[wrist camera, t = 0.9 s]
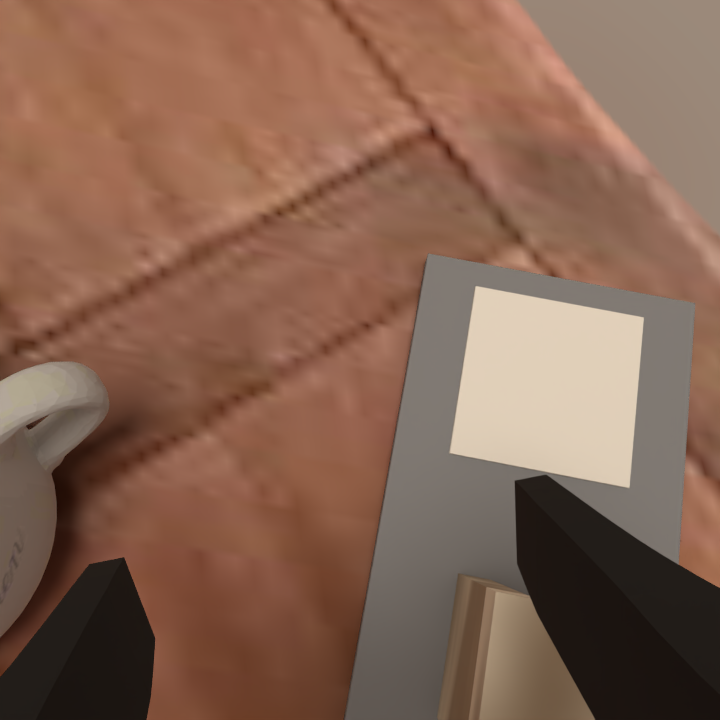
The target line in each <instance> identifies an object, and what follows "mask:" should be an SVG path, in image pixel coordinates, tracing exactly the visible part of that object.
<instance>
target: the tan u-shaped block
mask: <svg viewBox="0 0 720 720" xmlns="http://www.w3.org/2000/svg"><path fill="white" fill-rule="evenodd" d="M437 718H438V720H595V718H594V717H593V715H592V713H591V711H590V709H589V708H588V706H587V704H586V702H585V700H584V698H583V697H582V695H581V693H580V691H579V689H578V688H577V686H576V684H575V682H574V680H573V679H572V677H571V675H570V673H569V671H568V670H567V668H566V666H565V664H564V662H563V661H562V659H561V657H560V655H559V653H558V651H557V650H556V648H555V646H554V644H553V642H552V640H551V639H550V637H549V635H548V633H547V631H546V629H545V628H544V626H543V624H542V622H541V620H540V618H539V616H538V615H537V612H536V610H535V608H534V605H533V603H532V600H531V598H530V596H529V595H526V594H523V593H521V592H519V591H516V590H514V589H511V588H509V587H507V586H504V585H502V584H500V583H497V582H495V581H492V580H489V579H484V578H479V577H474V576H469V575H464V574H459V573H458V578H457V585H456V592H455V598H454V605H453V612H452V619H451V626H450V633H449V640H448V646H447V653H446V660H445V667H444V674H443V681H442V688H441V694H440V701H439V708H438V715H437Z"/></svg>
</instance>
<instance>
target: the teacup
mask: <svg viewBox="0 0 720 720" xmlns="http://www.w3.org/2000/svg"><path fill="white" fill-rule="evenodd" d="M108 410H109V398H108V393H107V390H106V388H105V386H104V385H103V383H102V381H101V380H100V378H99V376H98V375H97V374H96V373H95V372H94V371H93V370H92V369H90V368H89V367H87V366H85V365H83V364H81V363H76V362H49V363H45V364H41V365H36V366H33V367H30V368H27V369H24V370H22V371H19V372H17V373H15V374H13V375H11V376H9V377H7V378H5V379H3V380H2V381H0V637H1V636H2V635H3V634H4V633H5V632H6V631H7V630H8V629H9V628H10V627H11V625H12V624H13V623H14V622H15V621H16V619H17V618H18V617H19V616H20V614H21V613H22V612H23V610H24V609H25V607H26V606H27V604H28V603H29V601H30V599H31V598H32V596H33V594H34V592H35V590H36V589H37V587H38V585H39V583H40V581H41V579H42V577H43V574H44V571H45V569H46V566H47V564H48V561H49V558H50V555H51V551H52V547H53V543H54V537H55V530H56V522H57V502H56V493H55V485H54V482H53V478H52V472H53V470H54V469H55V468H56V467H58V466H59V465H60V464H61V462H62V461H63V459H64V457H65V455H67V454H68V453H69V452H70V451H72V450H73V449H74V448H75V447H76V446H77V445H79V444H80V443H81V442H82V441H83V440H84V439H85V438H86V437H87V436H88V435H90V434H91V433H92V432H93V431H94V430H95V429H96V428H97V427H98V426H99V425H100V424H101V422H102V421H103V420H104V418H105V417H106V415H107V413H108ZM48 415H49V416H48ZM45 416H48V417H46V418H45V419H44V420H43V421H41V422H40V423H39V424H38V425H36V426H35V427H33V428H32V429H28V428H27V427H26V425H28V424H30V423H32V422H34V421H36V420H38V419H41V418H43V417H45Z"/></svg>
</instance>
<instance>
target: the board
mask: <svg viewBox="0 0 720 720" xmlns="http://www.w3.org/2000/svg"><path fill="white" fill-rule="evenodd" d="M694 315H695V303H691V302H686V301H680V300H675V299H670V298H664V297H659V296H654V295H648V294H643V293H637V292H632V291H627V290H621V289H616V288H611V287H605V286H600V285H594V284H589V283H584V282H578V281H573V280H568V279H562V278H557V277H551V276H546V275H541V274H535V273H530V272H525V271H519V270H514V269H508V268H503V267H498V266H492V265H487V264H482V263H476V262H471V261H465V260H460V259H455V258H449V257H444V256H438V255H433V254H428V256H427V259H426V262H425V267H424V273H423V278H422V284H421V290H420V295H419V301H418V306H417V312H416V318H415V323H414V329H413V334H412V340H411V346H410V351H409V357H408V362H407V368H406V374H405V379H404V385H403V390H402V396H401V402H400V407H399V413H398V418H397V424H396V430H395V435H394V441H393V446H392V452H391V458H390V463H389V469H388V474H387V480H386V486H385V491H384V497H383V502H382V508H381V514H380V519H379V525H378V530H377V536H376V542H375V547H374V553H373V558H372V564H371V570H370V575H369V581H368V586H367V592H366V598H365V603H364V609H363V614H362V620H361V626H360V631H359V637H358V642H357V648H356V654H355V659H354V665H353V670H352V676H351V682H350V687H349V693H348V698H347V704H346V710H345V715H344V720H438V718H437V715H438V708H439V701H440V694H441V688H442V681H443V674H444V667H445V660H446V653H447V646H448V640H449V633H450V626H451V619H452V612H453V605H454V598H455V592H456V585H457V578H458V573H459V574H464V575H469V576H474V577H479V578H484V579H489V580H492V581H495V582H497V583H500V584H502V585H504V586H507V587H509V588H511V589H514V590H516V591H519V592H521V593H523V594H526V595H529V593H528V591H527V588H526V586H525V583H524V581H523V578H522V575H521V573H520V570H519V568H518V565H517V549H516V513H515V480H520V479H525V478H530V477H535V476H541V475H548V476H549V477H551V478H552V479H553V480H555V481H556V482H558V483H559V484H560V485H562V486H563V487H564V488H566V489H567V490H569V491H570V492H571V493H573V494H574V495H575V496H577V497H578V498H580V499H581V500H582V501H584V502H585V503H586V504H588V505H589V506H591V507H592V508H593V509H595V510H596V511H598V512H599V513H600V514H602V515H603V516H605V517H606V518H607V519H609V520H610V521H612V522H613V523H615V524H616V525H617V526H619V527H620V528H622V529H623V530H625V531H626V532H628V533H629V534H631V535H632V536H634V537H635V538H637V539H638V540H640V541H641V542H643V543H644V544H646V545H648V546H649V547H651V548H652V549H654V550H655V551H657V552H659V553H660V554H662V555H663V556H665V557H667V558H668V559H670V560H672V561H673V562H675V563H677V564H679V549H680V533H681V517H682V502H683V486H684V471H685V455H686V440H687V424H688V408H689V393H690V377H691V362H692V346H693V331H694Z"/></svg>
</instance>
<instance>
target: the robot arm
mask: <svg viewBox="0 0 720 720" xmlns="http://www.w3.org/2000/svg"><path fill="white" fill-rule="evenodd" d="M515 513H516V549H517V565H518V568H519V570H520V573H521V575H522V578H523V581H524V583H525V586H526V588H527V591H528V593H529V596H530V598H531V600H532V603H533V605H534V608H535V610H536V612H537V615H538V616H539V618H540V620H541V622H542V624H543V626H544V628H545V629H546V631H547V633H548V635H549V637H550V639H551V640H552V642H553V644H554V646H555V648H556V650H557V651H558V653H559V655H560V657H561V659H562V661H563V662H564V664H565V666H566V668H567V670H568V671H569V673H570V675H571V677H572V679H573V680H574V682H575V684H576V686H577V688H578V689H579V691H580V693H581V695H582V697H583V698H584V700H585V702H586V704H587V706H588V708H589V709H590V711H591V713H592V715H593V717H594V718H595V720H720V588H719V587H717V586H715V585H713V584H711V583H709V582H708V581H706V580H704V579H702V578H700V577H699V576H697V575H695V574H693V573H692V572H690V571H688V570H687V569H685V568H683V567H682V566H680V565H678V564H677V563H675V562H673V561H672V560H670V559H668V558H667V557H665V556H663V555H662V554H660V553H659V552H657V551H655V550H654V549H652V548H651V547H649V546H648V545H646V544H644V543H643V542H641V541H640V540H638V539H637V538H635V537H634V536H632V535H631V534H629V533H628V532H626V531H625V530H623V529H622V528H620V527H619V526H617V525H616V524H615V523H613V522H612V521H610V520H609V519H607V518H606V517H605V516H603V515H602V514H600V513H599V512H598V511H596V510H595V509H593V508H592V507H591V506H589V505H588V504H586V503H585V502H584V501H582V500H581V499H580V498H578V497H577V496H575V495H574V494H573V493H571V492H570V491H569V490H567V489H566V488H564V487H563V486H562V485H560V484H559V483H558V482H556V481H555V480H553V479H552V478H551V477H549V476H548V475H541V476H535V477H530V478H525V479H520V480H515ZM154 649H155V637H154V634H153V631H152V629H151V626H150V624H149V621H148V618H147V616H146V613H145V611H144V608H143V605H142V603H141V600H140V598H139V595H138V592H137V590H136V587H135V585H134V582H133V579H132V577H131V574H130V572H129V569H128V566H127V564H126V561H125V559H124V558H119V559H114V560H108V561H103V562H98V563H93V564H89V566H88V567H87V568H86V569H85V571H84V572H83V573H82V574H81V576H80V577H79V578H78V579H77V581H76V582H75V583H74V585H73V586H72V587H71V589H70V590H69V591H68V592H67V594H66V595H65V596H64V598H63V599H62V600H61V602H60V603H59V604H58V605H57V607H56V608H55V609H54V611H53V612H52V613H51V615H50V616H49V617H48V618H47V620H46V621H45V622H44V624H43V625H42V626H41V628H40V629H39V630H38V631H37V633H36V634H35V635H34V636H33V638H32V639H31V640H30V641H29V643H28V644H27V645H26V646H25V648H24V649H23V650H22V652H21V653H20V654H19V655H18V657H17V658H16V659H15V660H14V662H13V663H12V664H11V665H10V667H9V668H8V669H7V670H6V671H5V672H4V674H3V675H2V676H1V677H0V720H146V718H147V713H148V708H149V703H150V697H151V688H152V677H153V664H154Z"/></svg>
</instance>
